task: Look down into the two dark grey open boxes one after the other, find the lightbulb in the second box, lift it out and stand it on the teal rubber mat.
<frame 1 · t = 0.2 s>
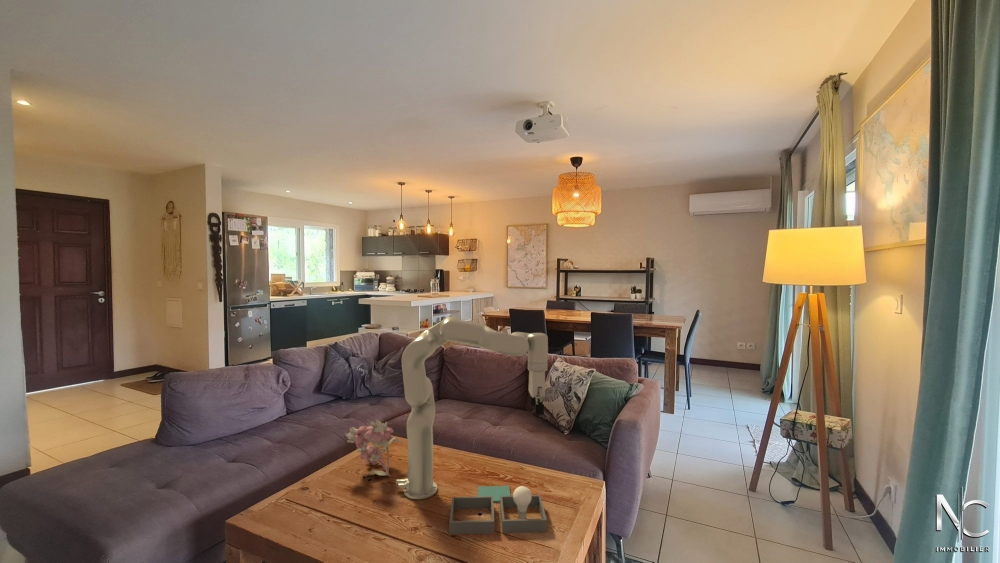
hand: (537, 409, 158), 31 cm above the table, tool pointing down, fingers open, 9 cm apart
box a: (472, 520, 140), on the table
lightbulb: (522, 519, 141), resting in box b
mat: (494, 494, 155), on the table
box b: (522, 518, 141), on the table
flower: (374, 469, 175), on the table
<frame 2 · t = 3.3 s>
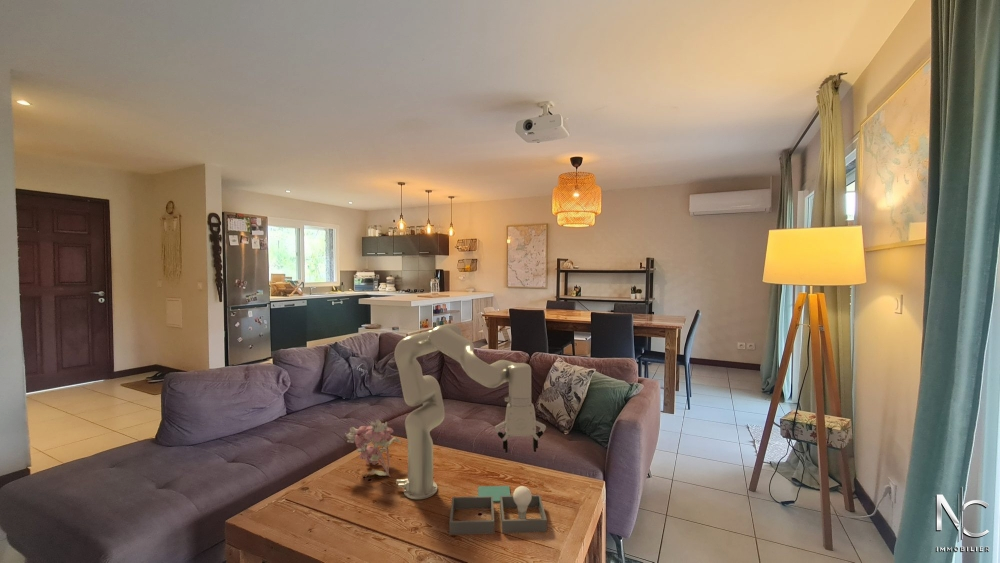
hand: (520, 450, 139), 24 cm above the table, tool pointing down, fingers open, 9 cm apart
nothing on the table moved.
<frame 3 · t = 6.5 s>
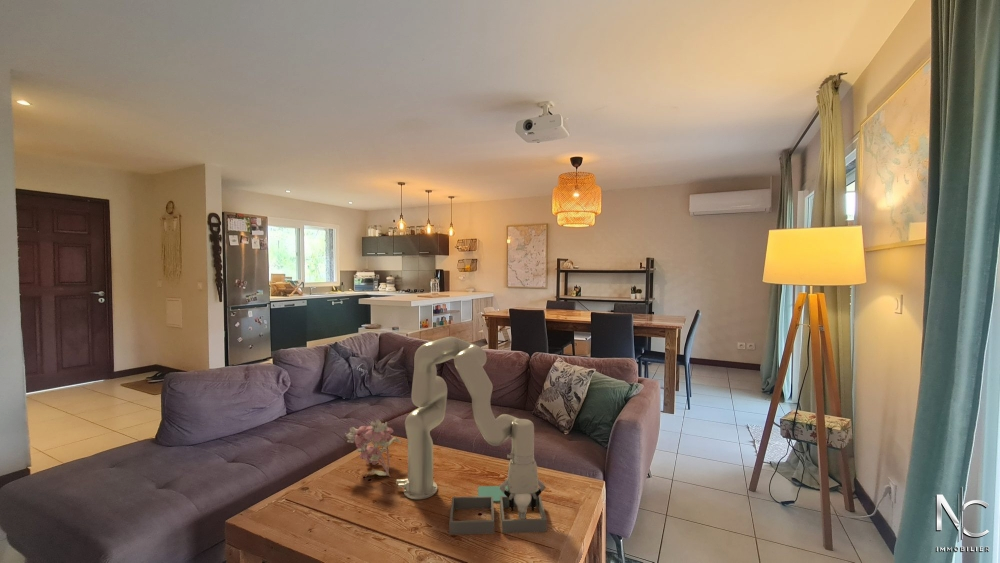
hand: (522, 508, 141), 4 cm above the table, tool pointing down, fingers closed on lightbulb, 6 cm apart
lightbulb: (522, 519, 141), resting in box b, touching gripper
everything else where it was.
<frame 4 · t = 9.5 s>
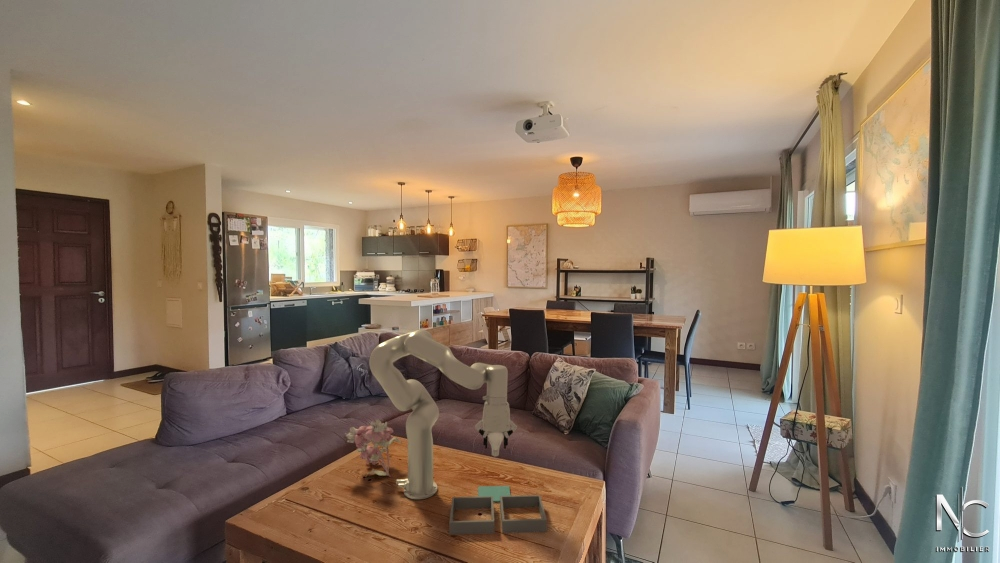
hand: (495, 446, 153), 19 cm above the table, tool pointing down, fingers closed on lightbulb, 6 cm apart
lightbulb: (495, 456, 153), point 15 cm above the table, touching gripper
everything else where it was.
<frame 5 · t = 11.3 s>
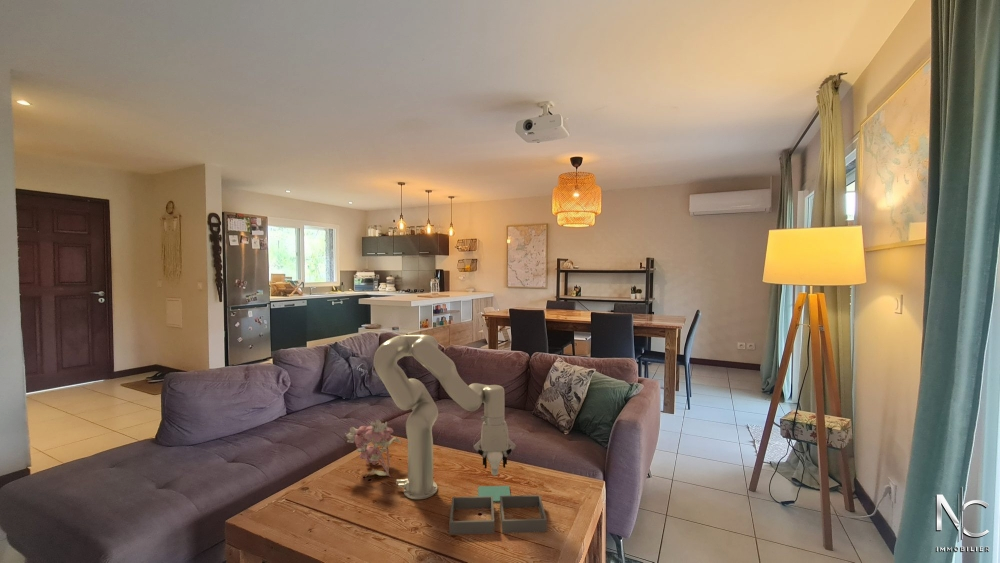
hand: (494, 465, 155), 11 cm above the table, tool pointing down, fingers closed on lightbulb, 6 cm apart
lightbulb: (495, 475, 155), point 7 cm above the table, touching gripper
everything else where it was.
when the fingers open (6 cm above the table, at t = 12.9 s): lightbulb drops 1 cm, resting on mat.
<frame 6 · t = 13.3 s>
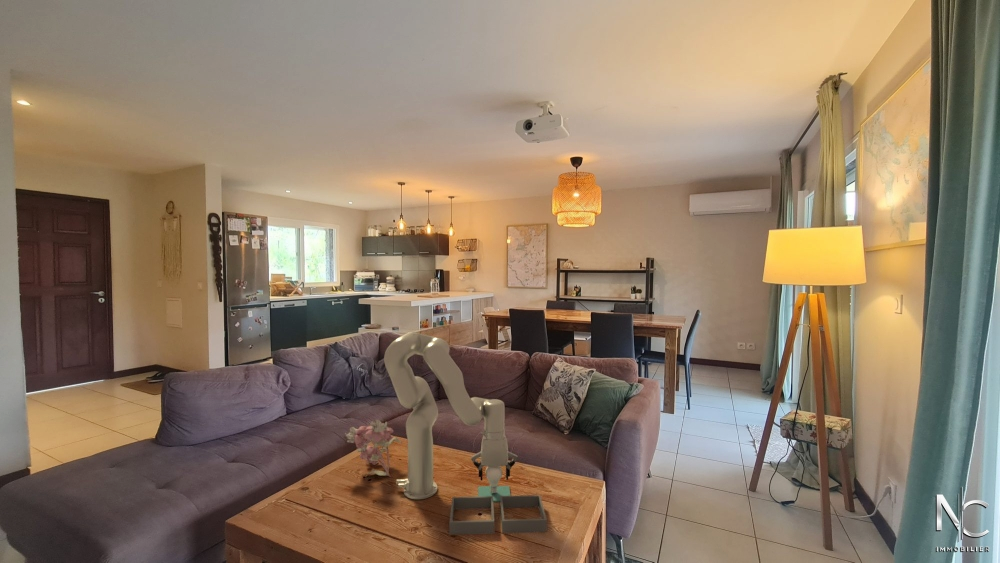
hand: (494, 478, 155), 6 cm above the table, tool pointing down, fingers open, 9 cm apart
lightbulb: (493, 493, 155), resting on mat
everything else where it was.
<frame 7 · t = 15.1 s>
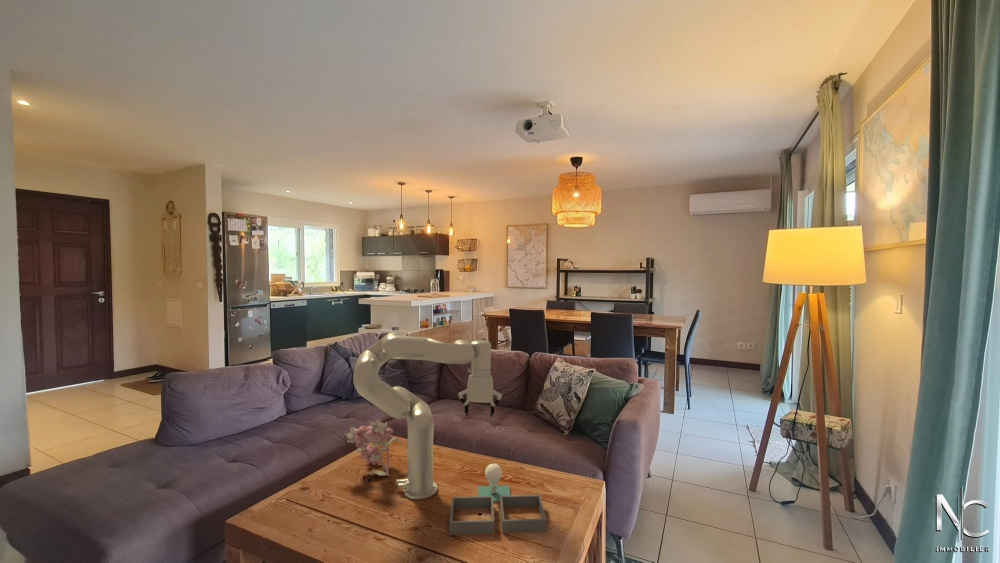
hand: (479, 415, 163), 27 cm above the table, tool pointing down, fingers open, 9 cm apart
nothing on the table moved.
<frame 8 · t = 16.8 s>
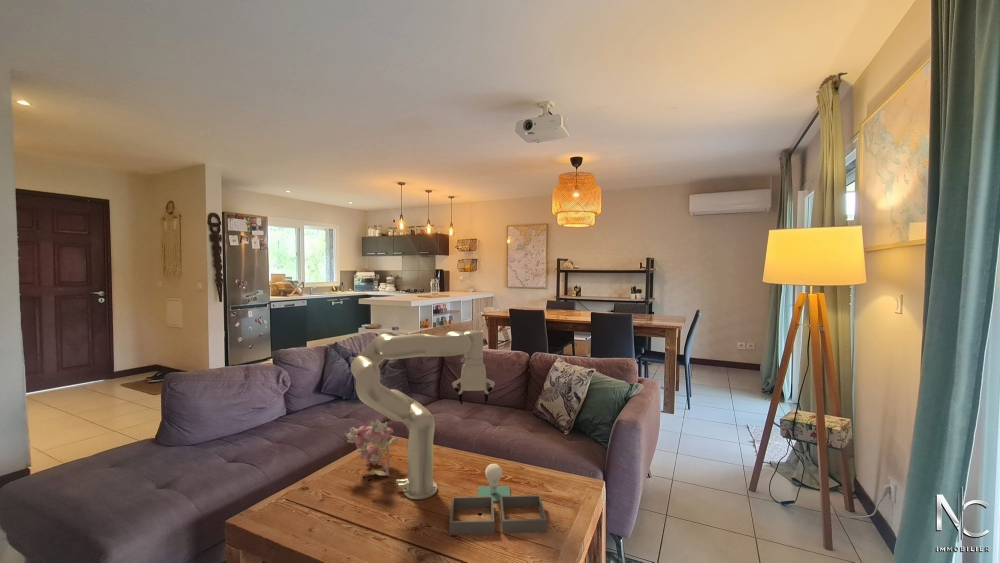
hand: (473, 403, 167), 30 cm above the table, tool pointing down, fingers open, 9 cm apart
nothing on the table moved.
at the end: lightbulb inside the target area on the mat (0.2 cm from its centre), point 0.4 cm above the mat's base; lightbulb tilted 0°; the gripper is holding nothing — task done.
